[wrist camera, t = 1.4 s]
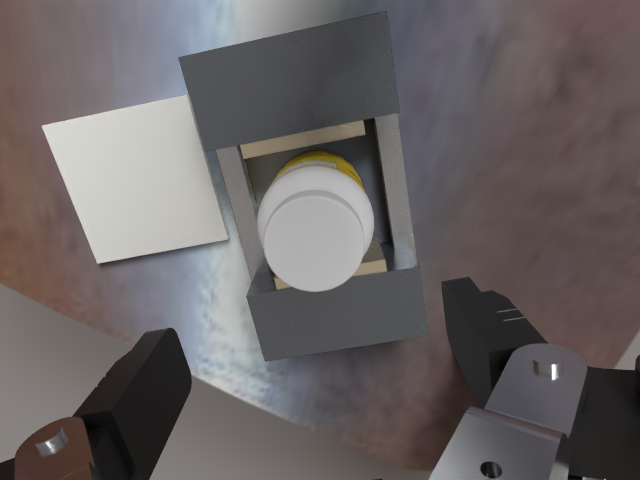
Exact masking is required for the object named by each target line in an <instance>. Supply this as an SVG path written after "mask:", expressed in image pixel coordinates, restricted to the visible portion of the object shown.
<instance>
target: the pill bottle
mask: <svg viewBox="0 0 640 480" xmlns="http://www.w3.org/2000/svg"><path fill="white" fill-rule="evenodd" d="M257 230H258V235H259V239H260V242H261V245H262V247H263V249H264V253H265V257H266V260H267V262H268V264H269V266H270V268H271V269H272V271H273V272H274V273H275V274H276V276H278V277H279V278H280V279H281V280H282V281H283V282H285V283H286V284H288V285H290V286H292V287H294V288H296V289H299V290H304V291H311V292H319V291H326V290H330V289H333V288H335V287H338V286H339V285H341V284H343V283H344V282H346V281H347V280H348V279H349V278H350V277H351V276H352V275H353V274H354V273H355V272H356V270H357V269H358V267H359V265H360V263H361V261H362V258H363V256H364V255H365V253H366V252H367V250H368V248H369V246H370V243H371V240H372V237H373V232H374V215H373V210H372V206H371V203H370V201H369V198H368V196H367V194H366V191H365V188H364V186H363V184H362V181H361V179H360V177H359V175H358V173H357V171H356V170H355V168H354V167H353V166H352V165H351V163H349V162H348V161H347V160H346V159H345V158H343V157H342V156H340V155H338V154H336V153H334V152H330V151H326V150H310V151H305V152H302V153H300V154H298V155H296V156H294V157H293V158H291V159H290V160H289V161H288V162H287V163H286V164H285V165H284V166H283V167H282V168H281V170H280V171H279V173H278V174H277V176H276V177H275V179H274V180H273V182H272V184H271V185H270V187H269V189H268V190H267V192H266V193H265V195H264V197H263V199H262V202H261V204H260V207H259V211H258V217H257Z"/></svg>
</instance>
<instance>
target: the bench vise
mask: <svg viewBox="0 0 640 480" xmlns="http://www.w3.org/2000/svg"><path fill="white" fill-rule="evenodd" d="M178 58H179V62H180V65H181V69H182V72H183V76H184V79H185V83H186V86H187V90H188V93H189V97H190V100H191V104H192V107H193V111H194V114H195V118H196V121H197V125H198V128H199V132H200V135H201V139H202V142H203V146H204V149H205V152H208V151H213V150H216V152H217V156H218V159H219V163H220V167H221V170H222V174H223V178H224V181H225V185H226V188H227V192H228V196H229V199H230V203H231V206H232V210H233V214H234V217H235V221H236V225H237V228H238V232H239V235H240V239H241V243H242V246H243V250H244V253H245V257H246V261H247V264H248V268H249V272H250V275H251V279H252V283H251V286H250V288H249V291H248V293H247V296H246V297H247V300H248V304H249V307H250V311H251V314H252V318H253V321H254V325H255V328H256V332H257V335H258V339H259V342H260V346H261V349H262V353H263V356H264V360H265V362H266V361H272V360H278V359H285V358H291V357H297V356H304V355H310V354H316V353H322V352H329V351H335V350H341V349H347V348H354V347H360V346H366V345H373V344H379V343H385V342H391V341H398V340H404V339H410V338H417V337H423V336H429V335H428V327H427V320H426V312H425V304H424V296H423V289H422V281H421V273H420V266H419V264H418V262H417V260H416V252H415V244H414V237H413V229H412V222H411V214H410V206H409V199H408V191H407V184H406V176H405V168H404V161H403V153H402V146H401V138H400V130H399V123H398V115H397V113H400V111H399V103H398V96H397V88H396V80H395V72H394V65H393V57H392V49H391V42H390V34H389V26H388V18H387V11H384V12H379V13H375V14H370V15H366V16H361V17H357V18H352V19H348V20H343V21H339V22H335V23H330V24H326V25H321V26H317V27H312V28H308V29H303V30H299V31H294V32H290V33H285V34H281V35H276V36H272V37H267V38H263V39H258V40H254V41H250V42H245V43H241V44H236V45H232V46H227V47H223V48H218V49H214V50H209V51H205V52H200V53H196V54H191V55H187V56H182V57H178ZM371 118H373V121H374V128H375V135H376V141H377V148H378V155H379V161H380V168H381V175H382V181H383V188H384V195H385V201H386V208H387V215H388V221H389V228H390V234H391V241H392V242H387V243H381V244H380V243H379V240H378V237H377V236H375V237H372V240H371V243H370V246H369V248H368V250H367V252H366V253H365V255H364V256H363V258H362V261H361V263H360V265H359V267H358V269H357V270H356V272H355V273H354V274H353V275H352V276H351V277H350V278H349V279H348V280H347V281H346V282H344V283H343V284H341V285H339V286H338V287H335V288H333V289H330V290H326V291H319V292H311V291H304V290H299V289H296V288H294V287H292V286H290V285H288V284H286V283H285V282H283V281H282V280H281V279H280V278H279V277H278V276H276V274H275V273H274V272H273V271H272V269H271V268H270V266H269V264H268V262H267V260H266V257H265V253H264V249H263V247H262V245H261V242H260V239H259V235H258V230H257V217H258V208H257V204H256V200H255V196H254V192H253V188H252V184H251V181H250V177H249V173H248V169H247V165H246V161H245V159H246V158H251V157H256V156H261V155H266V154H271V153H276V152H281V151H286V150H291V149H296V148H301V147H306V146H311V145H316V144H321V143H326V142H331V141H336V140H341V139H346V138H351V137H356V136H361V135H365V129H364V123H363V120H366V119H371Z"/></svg>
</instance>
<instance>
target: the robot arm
mask: <svg viewBox="0 0 640 480" xmlns="http://www.w3.org/2000/svg"><path fill="white" fill-rule="evenodd" d="M442 296H443V304H444V313H445V321H446V329H447V335H448V340H449V343H450V347H451V349H452V352H453V354H454V356H455V358H456V360H457V362H458V364H459V366H460V368H461V370H462V372H463V374H464V376H465V378H466V380H467V382H468V384H469V386H470V388H471V391H472V393H473V395H474V397H475V399H476V401H477V403H478V405H479V407H477V406H474V405H472V406H470V407H469V408H468V409H467V411H466V413H465V414H464V416H463V418H462V420H461V422H460V423H459V425H458V427H457V429H456V431H455V432H454V434H453V436H452V438H451V440H450V442H449V443H448V445H447V447H446V449H445V451H444V452H443V454H442V456H441V458H440V460H439V462H438V463H437V465H436V467H435V469H434V471H433V473H432V475H431V476H430V478H429V480H586V479H587V478H593V479H600V480H640V355H639V356H638V357H637V359H636V364H635V365H636V366H635V370H617V369H602V368H593V367H588V366H587V365H586V363H585V361H584V360H583V358H582V357H581V356H579V355H578V354H577V353H575V352H573V351H572V350H569V349H567V348H565V347H562V346H558V345H553V344H548V343H547V342H546V340H545V339H544V338H543V337H542V336H541V335H540V334H539V333H538V331H537V330H536V329H535V328H534V327H533V326H532V325H531V324H530V323H529V321H528V320H527V319H526V318H524V316H523V315H522V314H521V313H520V311H519V310H517V309H516V307H515V306H514V305H513V304H512V302H511V301H510V300H509V299H508V298H507V297H505V296H503V295H501V294H498V293H496V292H494V291H492V290H491V291H485V292H481V291H480V290H479V289H478V288H477V286H476V285H475V284H474V282H473V281H472V280H471V279H470V278H469V277H465V278H459V279H453V280H448V281H443V282H442ZM191 383H192V380H191V372H190V369H189V366H188V363H187V360H186V358H185V355H184V352H183V349H182V346H181V344H180V341H179V338H178V335H177V333H176V331H175V330H174V329H173V328H166V329H160V330H154V331H149V332H146V333H144V334H143V336H142V337H141V338H140V340H139V341H138V342H137V343H136V345H135V346H134V347H133V349H132V350H131V351H130V352H128V353H127V354H126V355H124V356H123V357H122V358H121V359H119V360H118V361H117V362H115V364H114V365H113V366H112V367H111V369H110V370H109V371H108V372H107V374H106V377H103V379H102V380H101V381H100V382H99V384H98V387H95V389H94V390H93V391H92V392H91V394H90V395H89V396H88V397H87V399H86V400H85V401H84V402H83V404H82V405H81V406H80V407H79V409H78V410H77V411H76V412H75V414H74V415H73V416H72V417H67V418H63V419H59V420H57V421H54V422H52V423H50V424H48V425H46V426H44V427H43V428H41V429H39V430H38V431H36V432H35V433H34V434H32V435H31V436H30V437H29V438H28V439H26V440H25V441H24V443H23V444H22V445H21V446H20V447H19V449H18V450H17V452H16V454H15V458H13V459H10V460H7V461H4V462H2V463H0V480H149V479H150V476H151V474H152V472H153V470H154V468H155V466H156V464H157V461H158V459H159V457H160V455H161V453H162V451H163V449H164V446H165V444H166V442H167V440H168V437H169V436H170V434H171V432H172V429H173V427H174V425H175V423H176V421H177V419H178V417H179V414H180V412H181V410H182V408H183V406H184V404H185V401H186V399H187V397H188V395H189V393H190V390H191ZM375 480H382V479H375Z"/></svg>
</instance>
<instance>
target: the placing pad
mask: <svg viewBox="0 0 640 480" xmlns="http://www.w3.org/2000/svg"><path fill="white" fill-rule="evenodd" d="M42 128H43V130H44V133H45V135H46V138H47V140H48V143H49V145H50V148H51V150H52V153H53V155H54V158H55V160H56V162H57V165H58V167H59V170H60V172H61V175H62V177H63V180H64V182H65V185H66V187H67V190H68V192H69V195H70V197H71V199H72V202H73V204H74V207H75V209H76V212H77V214H78V217H79V219H80V222H81V224H82V227H83V229H84V232H85V234H86V237H87V239H88V241H89V244H90V246H91V249H92V251H93V254H94V256H95V259H96V261H97V264H98V263H104V262H109V261H114V260H120V259H125V258H131V257H136V256H141V255H147V254H152V253H158V252H163V251H168V250H174V249H179V248H185V247H190V246H195V245H201V244H206V243H212V242H217V241H223V240H228V239H229V238H230V235H229V231H228V228H227V224H226V221H225V217H224V214H223V210H222V207H221V203H220V200H219V196H218V192H217V189H216V185H215V182H214V178H213V175H212V171H211V168H210V164H209V161H208V157H207V154H206V152H205V149H204V146H203V142H202V139H201V135H200V132H199V128H198V125H197V121H196V118H195V114H194V111H193V107H192V104H191V100H190V97H189V95H182V96H178V97H173V98H169V99H164V100H159V101H155V102H150V103H145V104H141V105H136V106H131V107H127V108H122V109H118V110H113V111H108V112H104V113H99V114H94V115H90V116H85V117H80V118H76V119H71V120H67V121H62V122H57V123H53V124H48V125H43V126H42Z"/></svg>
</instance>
